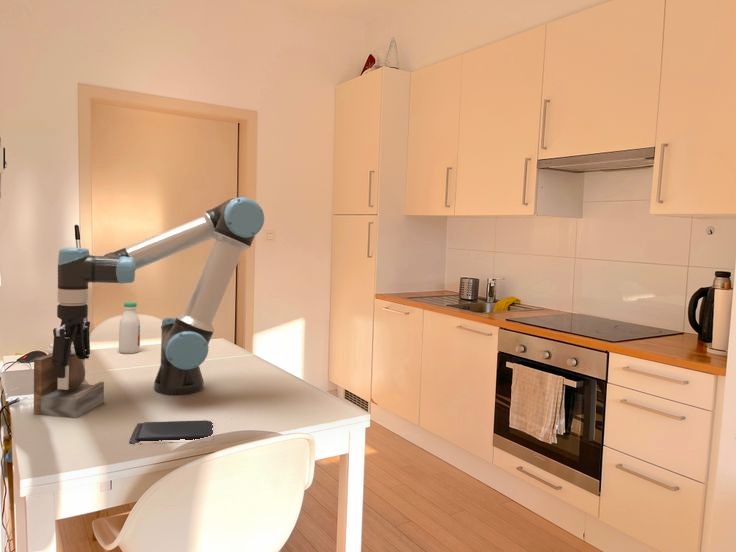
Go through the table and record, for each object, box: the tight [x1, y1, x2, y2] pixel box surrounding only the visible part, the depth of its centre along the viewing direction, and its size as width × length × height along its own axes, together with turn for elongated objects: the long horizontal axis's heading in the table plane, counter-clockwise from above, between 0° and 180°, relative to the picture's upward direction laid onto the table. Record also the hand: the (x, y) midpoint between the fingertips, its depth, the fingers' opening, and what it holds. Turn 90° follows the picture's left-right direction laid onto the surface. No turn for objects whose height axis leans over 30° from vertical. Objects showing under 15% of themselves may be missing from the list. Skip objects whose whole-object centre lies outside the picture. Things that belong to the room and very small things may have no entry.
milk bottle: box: [118, 301, 141, 354], centre depth 228 cm, size 8×8×20 cm
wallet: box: [128, 419, 213, 445], centre depth 146 cm, size 20×2×15 cm
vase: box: [67, 354, 86, 388], centre depth 159 cm, size 7×7×9 cm
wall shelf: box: [33, 349, 105, 419], centre depth 159 cm, size 12×14×15 cm
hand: (71, 385), depth 159 cm, fingers closed on vase, 7 cm apart
